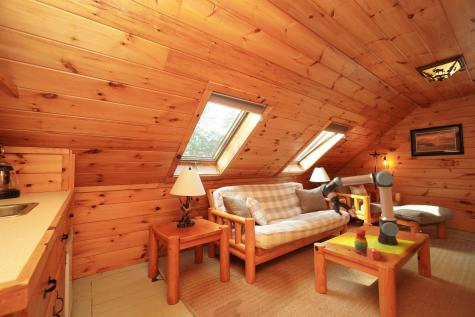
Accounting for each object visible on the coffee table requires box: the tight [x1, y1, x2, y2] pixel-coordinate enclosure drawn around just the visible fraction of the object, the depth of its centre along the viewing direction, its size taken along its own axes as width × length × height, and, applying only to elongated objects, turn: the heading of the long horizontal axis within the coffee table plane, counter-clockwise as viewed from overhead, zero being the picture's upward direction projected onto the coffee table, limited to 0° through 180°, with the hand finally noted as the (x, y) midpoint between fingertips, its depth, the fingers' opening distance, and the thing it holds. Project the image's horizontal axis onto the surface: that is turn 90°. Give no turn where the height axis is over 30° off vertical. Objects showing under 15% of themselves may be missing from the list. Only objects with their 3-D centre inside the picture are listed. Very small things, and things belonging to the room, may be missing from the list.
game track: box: [351, 247, 382, 257], centre depth 178 cm, size 15×13×1 cm
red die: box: [366, 247, 381, 261], centre depth 167 cm, size 6×6×6 cm
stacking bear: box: [353, 228, 369, 255], centre depth 178 cm, size 11×10×18 cm
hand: (349, 217), depth 191 cm, fingers open, 13 cm apart
